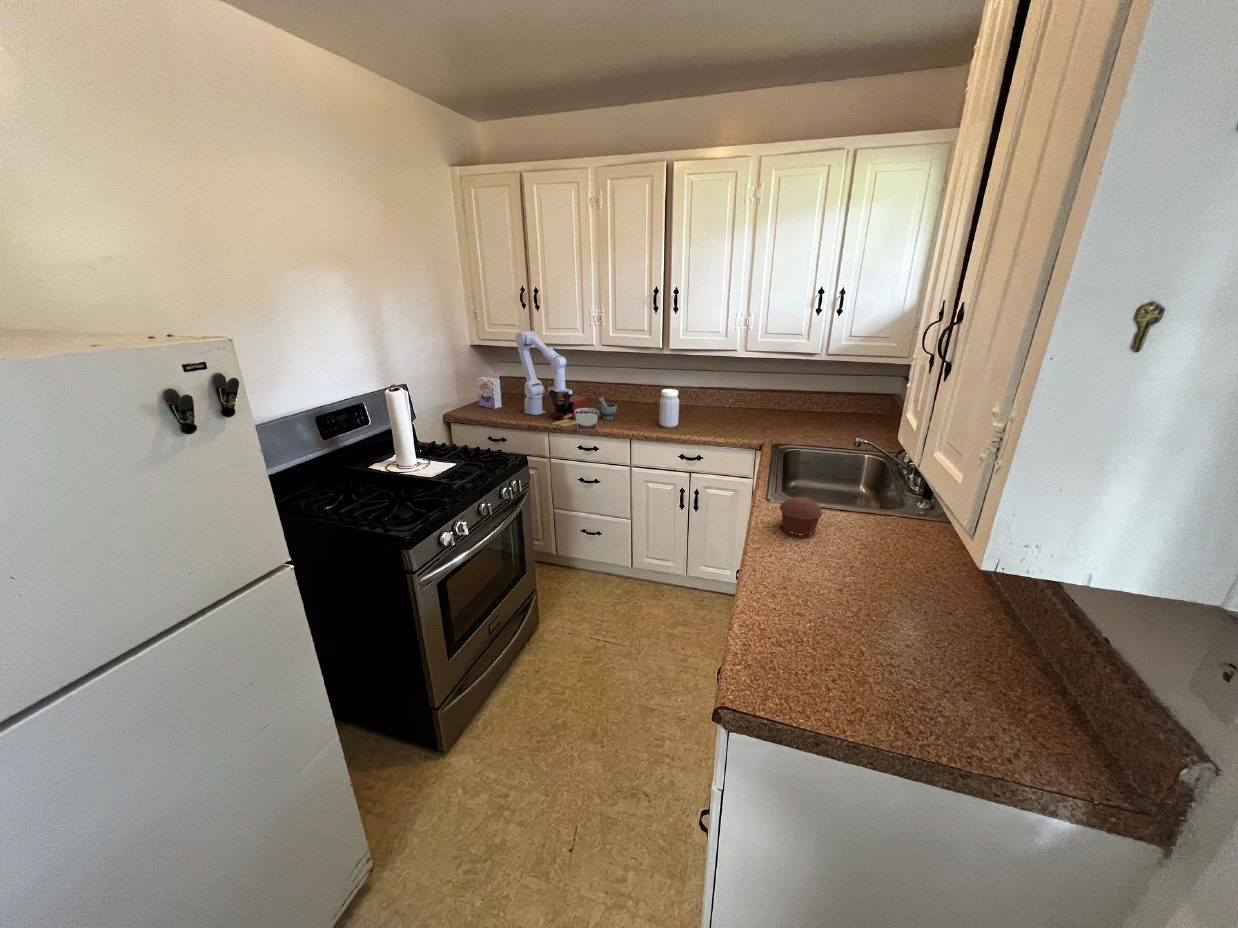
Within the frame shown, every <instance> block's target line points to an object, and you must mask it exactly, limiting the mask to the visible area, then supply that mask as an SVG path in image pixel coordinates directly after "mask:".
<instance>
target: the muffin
mask: <svg viewBox="0 0 1238 928" xmlns="http://www.w3.org/2000/svg"><path fill="white" fill-rule="evenodd" d="M779 510H780V511H781V525H782V531H783V532H785V533H786V534H788V535H789V536H791V537H797V538H798V539H799V538H810V537H811V536H813V535H814V534H815V531H816V528H817V526H818V523H819V520H820V518H821V517H822V514H823V511H822V508H821V507H820V506H819V504H817V502H815V501H814V500H812V499H810V498H808V497H805V496H793V497H790V498H788V499H786V500H784V501H782V503H781V504H780V505H779ZM813 531H814V532H813ZM791 532H793V533H791ZM811 532H812V533H811ZM796 533H797V534H796ZM810 533H811V534H810ZM799 534H803V535H799Z"/></svg>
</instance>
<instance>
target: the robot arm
mask: <svg viewBox="0 0 1238 928" xmlns="http://www.w3.org/2000/svg"><path fill="white" fill-rule="evenodd" d="M515 343H516V345H517V350H518V355H519V358H520V361H521V365H522V369H523V372H524V375H525V380H526V382H525V383H524V385H523V386H524V394H525V396H526V397H525V398H524V412H523V413H524V414H529V415H533V416H538V415H542V414H546V412H547V411H545V410H543V396H544V395H545V387H544V385H543V384H542V381H541V380H539V379H538V378H537V374H536V371H535V368H534V363H533V360H532V356H531V353H530V348H531V347H533V346H534V347H535V348H537V349H538V350H539V351H541V352H542V356H543V357H544V358H545V359H546V360H547V361H548V362H549V363H550V365H551V366H550V367H551V368H552V372H553V382H554V383H553V384H554V386H549V387H548V390H547V391H548V395H549V397H550V399H551V401H552V404H553V406H555V403H557V402H558V394H559V393H562V395H561V396H562V398H563V399H564V406H565V407H568V404H569V400H570V398H571V396H572V395H573V389H569V388H566V370H565V369H566V368H565V367H567V364H568V360H567V358H566V357H565V356H564V355H560V354H559V353H557V352H556V351H555V350H554V348H553V347H551V346H549V347H547V345H546V344H545V343H544V342H543V341H542V340H541V339H540V337H539V335H538V333H536V331H534V330H528V331H527V330H526V331H518V332H517V333H516V335H515Z"/></svg>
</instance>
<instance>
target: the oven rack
mask: <svg viewBox="0 0 1238 928" xmlns="http://www.w3.org/2000/svg"><path fill="white" fill-rule="evenodd" d="M549 414H550V415H549V416H550V418H553V419H558V420H563V419H569V417H572V416H573V413H570V412H567V415H566V416H564V414H560V413H555V411H550V413H549Z"/></svg>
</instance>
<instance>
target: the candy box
mask: <svg viewBox="0 0 1238 928" xmlns="http://www.w3.org/2000/svg"><path fill="white" fill-rule="evenodd" d="M475 379H476V380H475V381H476V389H477V399H478V406H479V407H483V408H487V409H493V410H497V409H501V408H503V405H502V394H501V393H502V391H501V380H500V379H498V378H491V377H487V376H486V377H485V376H481V377H476V378H475Z"/></svg>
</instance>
